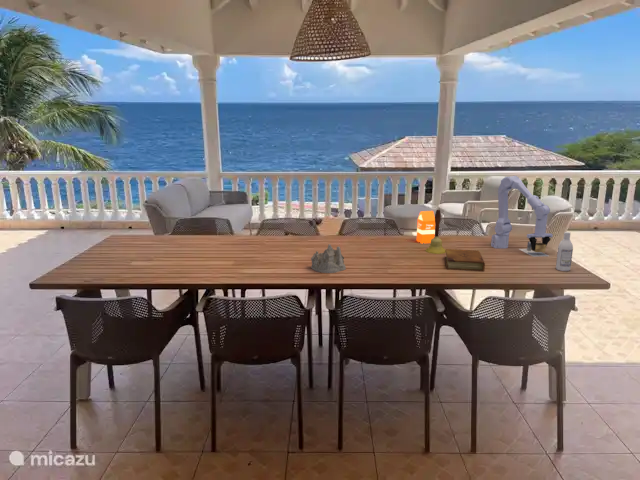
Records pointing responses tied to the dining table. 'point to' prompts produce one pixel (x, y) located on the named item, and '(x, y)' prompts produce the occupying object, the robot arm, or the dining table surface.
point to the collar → (539, 247)
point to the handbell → (436, 238)
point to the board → (533, 253)
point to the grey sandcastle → (328, 261)
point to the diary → (464, 260)
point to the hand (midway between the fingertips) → (538, 249)
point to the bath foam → (564, 253)
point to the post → (529, 246)
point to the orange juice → (425, 227)
